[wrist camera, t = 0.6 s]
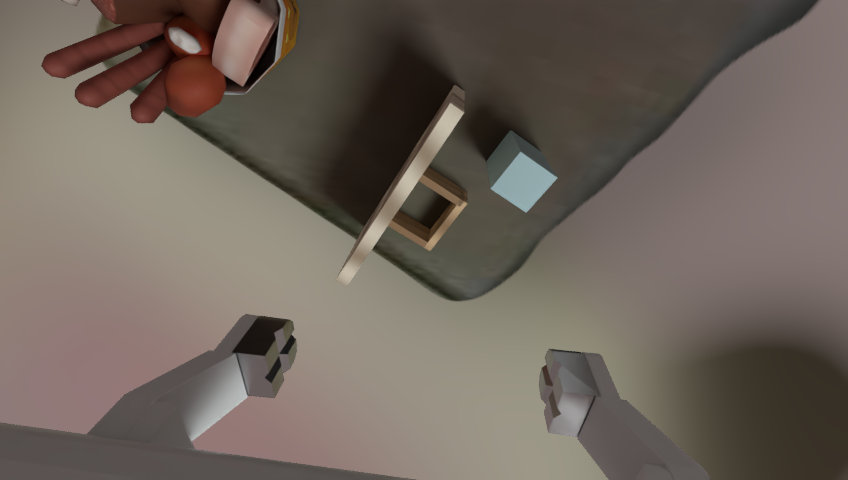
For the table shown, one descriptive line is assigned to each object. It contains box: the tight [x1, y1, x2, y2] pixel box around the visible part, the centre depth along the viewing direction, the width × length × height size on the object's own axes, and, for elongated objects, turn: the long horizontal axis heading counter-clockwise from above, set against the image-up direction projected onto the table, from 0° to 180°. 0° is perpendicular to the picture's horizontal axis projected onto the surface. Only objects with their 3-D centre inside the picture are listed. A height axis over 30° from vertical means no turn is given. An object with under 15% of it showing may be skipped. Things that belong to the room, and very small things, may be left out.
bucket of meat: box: [41, 0, 299, 123], centre depth 34 cm, size 20×16×20 cm
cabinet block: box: [486, 130, 557, 212], centre depth 44 cm, size 5×6×10 cm
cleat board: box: [336, 85, 467, 286], centre depth 45 cm, size 24×10×14 cm, turn 147°
